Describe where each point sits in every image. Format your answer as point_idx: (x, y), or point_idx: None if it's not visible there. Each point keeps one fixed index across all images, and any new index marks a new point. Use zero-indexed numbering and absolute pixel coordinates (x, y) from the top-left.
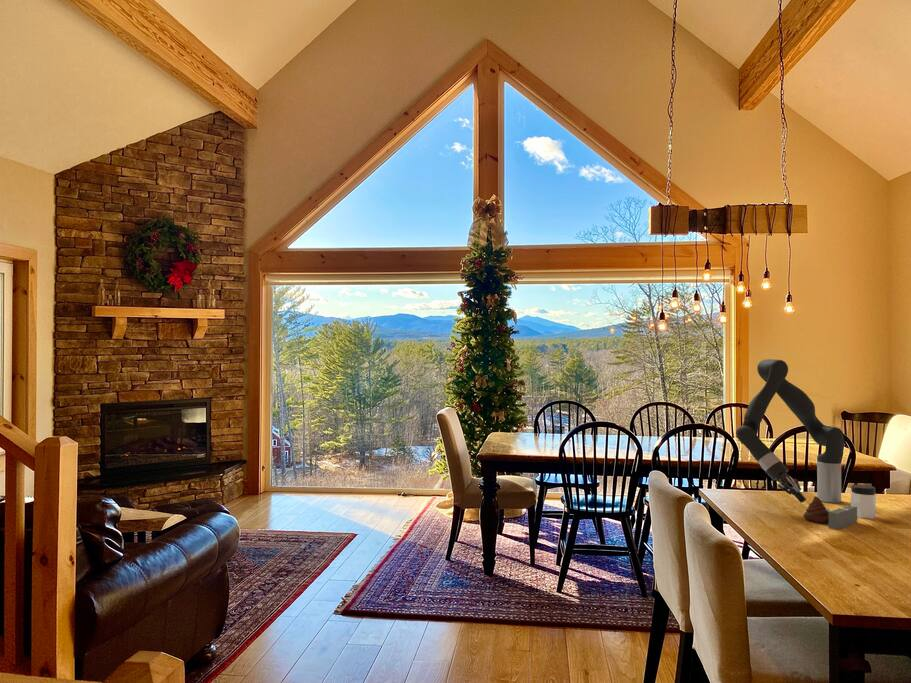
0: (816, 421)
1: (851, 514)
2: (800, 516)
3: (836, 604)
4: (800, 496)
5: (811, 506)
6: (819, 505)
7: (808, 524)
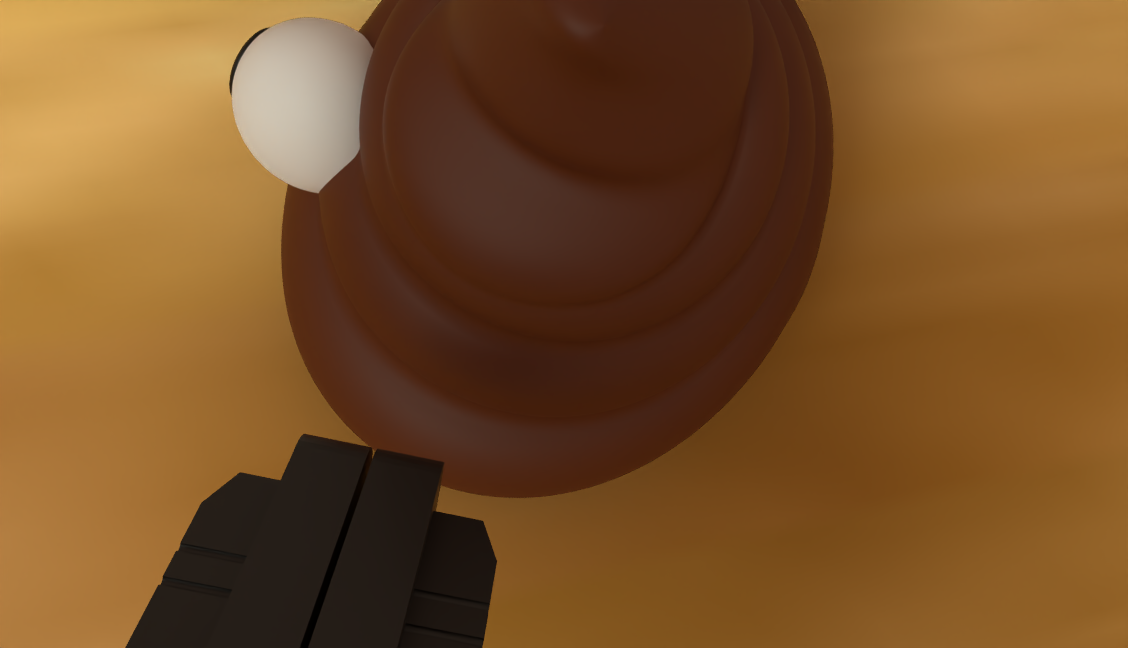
0: None
1: None
2: None
3: None
4: (428, 622)
5: (770, 208)
6: None
7: (1024, 300)
